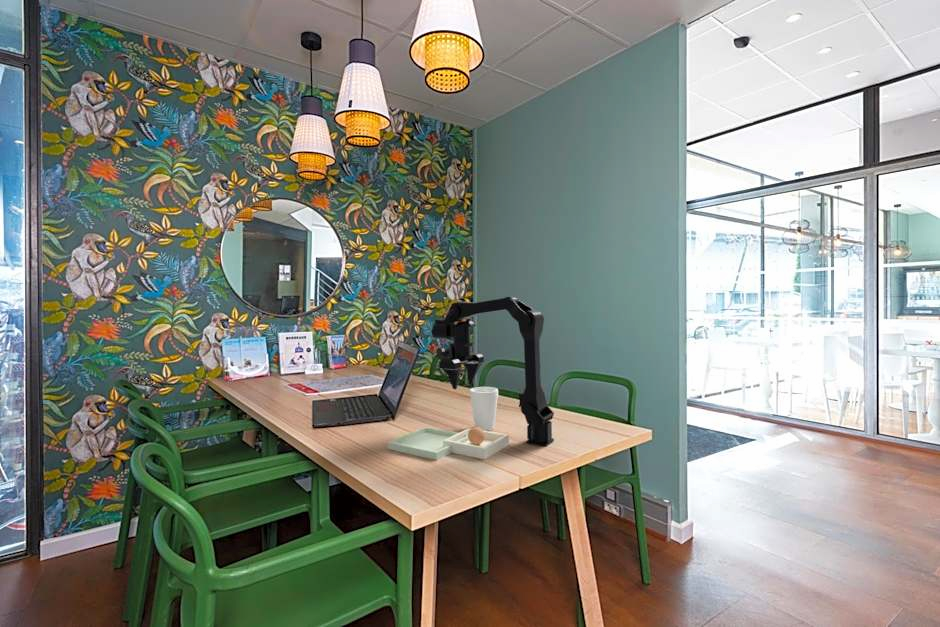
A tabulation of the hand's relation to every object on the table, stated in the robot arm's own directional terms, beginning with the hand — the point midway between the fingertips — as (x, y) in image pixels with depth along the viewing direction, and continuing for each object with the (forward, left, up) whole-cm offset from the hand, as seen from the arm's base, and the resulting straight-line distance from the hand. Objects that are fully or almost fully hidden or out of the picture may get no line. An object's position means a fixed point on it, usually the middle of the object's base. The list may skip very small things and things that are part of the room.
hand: (462, 386), depth 150 cm
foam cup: (-5, -5, -15) cm, 16 cm away
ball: (-13, +13, -11) cm, 22 cm away
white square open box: (-13, +13, -14) cm, 24 cm away
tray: (0, +18, -14) cm, 23 cm away
